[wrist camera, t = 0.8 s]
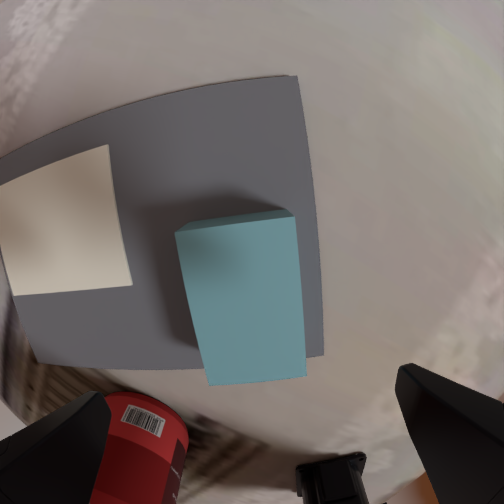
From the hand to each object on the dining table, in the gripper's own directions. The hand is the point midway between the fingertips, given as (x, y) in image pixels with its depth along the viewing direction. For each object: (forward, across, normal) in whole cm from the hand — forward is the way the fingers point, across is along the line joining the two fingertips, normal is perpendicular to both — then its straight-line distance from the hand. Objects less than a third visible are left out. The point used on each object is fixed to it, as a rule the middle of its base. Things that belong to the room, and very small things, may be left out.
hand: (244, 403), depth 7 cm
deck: (+9, 0, 0) cm, 9 cm away
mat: (+9, +7, -3) cm, 12 cm away
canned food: (+10, +10, +11) cm, 18 cm away
